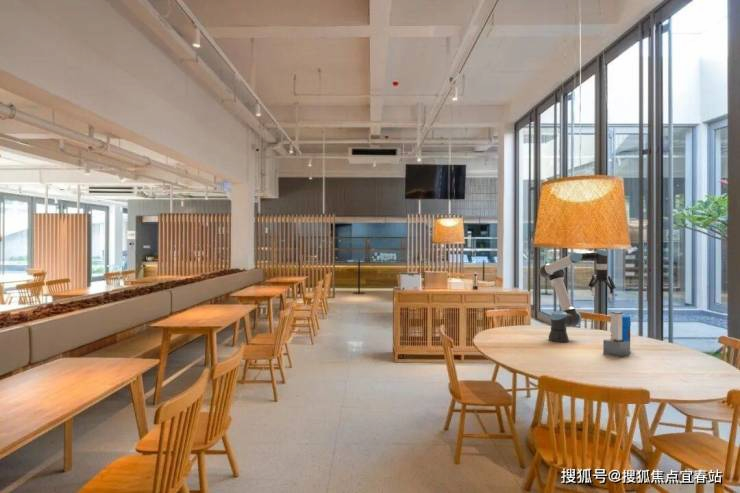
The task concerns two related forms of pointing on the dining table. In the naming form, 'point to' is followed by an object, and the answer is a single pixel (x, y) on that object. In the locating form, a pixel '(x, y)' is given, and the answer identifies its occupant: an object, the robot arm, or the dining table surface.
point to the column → (616, 326)
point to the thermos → (626, 327)
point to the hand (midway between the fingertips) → (601, 296)
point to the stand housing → (616, 348)
